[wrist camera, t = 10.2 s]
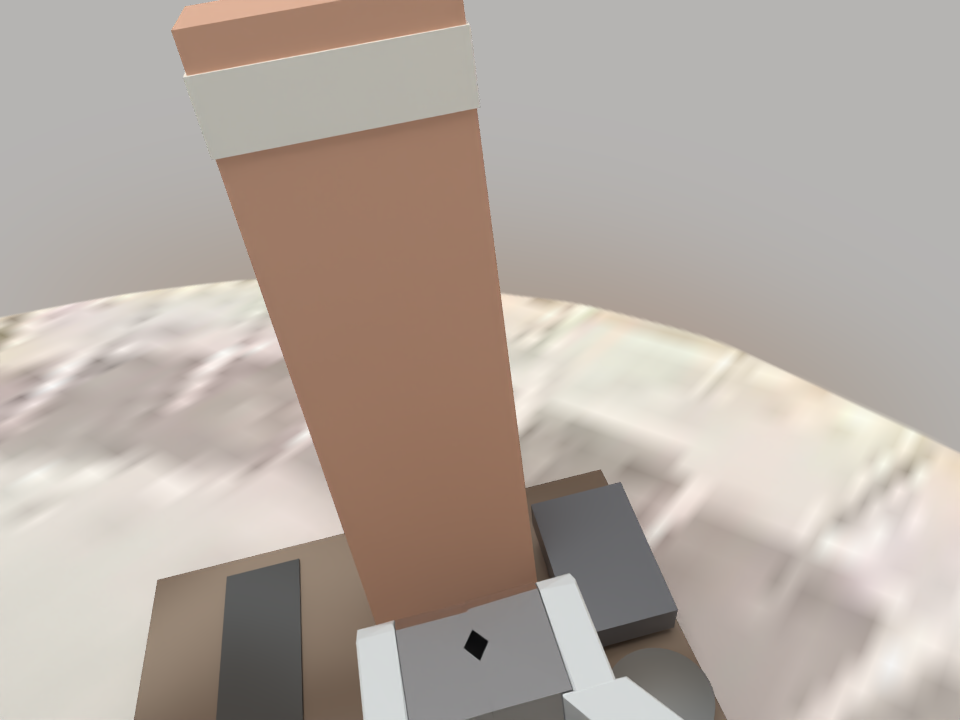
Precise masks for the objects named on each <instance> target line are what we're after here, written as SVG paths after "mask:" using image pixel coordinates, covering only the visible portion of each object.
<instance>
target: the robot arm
mask: <svg viewBox="0 0 960 720" xmlns="http://www.w3.org/2000/svg"><path fill="white" fill-rule="evenodd" d="M356 647H357V658H358V668H359V679H360V690H361V700H362V711H363V720H684V719H682V718H681V717H680V716H678V715H677V714H676V713H674V712H673V711H672V710H670V709H669V708H668V707H666V706H665V705H664V704H662V703H661V702H660V701H658V700H657V699H656V698H654V697H653V696H652V695H650V694H649V693H648V692H647V691H645V690H644V689H643V688H641V687H640V686H639V685H637V684H636V683H635V682H633V681H632V680H631V679H629V678H628V677H627V676H626V677H621V678H617V679H615V676H614V674H613V671H612V669H611V666H610V664H609V661H608V659H607V656H606V654H605V651H604V649H603V647H602V644H601V642H600V639H599V637H598V634H597V632H596V629H595V627H594V624H593V622H592V619H591V617H590V614H589V612H588V609H587V607H586V604H585V602H584V600H583V597H582V595H581V592H580V590H579V587H578V585H577V582H576V580H575V578H574V577H573V576H572V575H571V574H570V573H568V574H564V575H561V576H557V577H554V578H550V579H547V580H543V581H540V582H536V583H535V584H534V582H532V583H528V584H525V585H521V586H518V587H514V588H511V589H507V590H504V591H500V592H497V593H493V594H490V595H486V596H483V597H479V598H476V599H472V600H469V601H465V603H463V604H459V605H455V606H451V607H447V608H443V609H439V610H434V611H430V612H426V613H422V614H418V615H414V616H410V617H406V618H402V619H398V620H395V621H394V620H393V621H389V622H386V623H382V624H378V625H374V626H371V627H367V628H363V629H359V630H357V639H356Z"/></svg>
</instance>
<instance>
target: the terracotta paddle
mask: <svg viewBox="0 0 960 720" xmlns="http://www.w3.org/2000/svg"><path fill="white" fill-rule="evenodd" d="M171 31H172V34H173V37H174V40H175V43H176V46H177V49H178V52H179V54H180V57H181V60H182V63H183V66H184V69H185V74H184V76H183V79H184V82H185V85H186V88H187V91H188V94H189V96H190V99H191V102H192V105H193V108H194V111H195V113H196V116H197V119H198V122H199V125H200V128H201V131H202V134H203V137H204V139H205V142H206V145H207V148H208V151H209V154H210V157H211V160H216V162H217V165H218V167H219V170H220V173H221V176H222V179H223V182H224V185H225V188H226V191H227V193H228V197H229V200H230V202H231V205H232V208H233V211H234V214H235V217H236V220H237V223H238V226H239V229H240V231H241V234H242V237H243V240H244V243H245V246H246V248H247V252H248V255H249V257H250V260H251V263H252V266H253V269H254V272H255V275H256V278H257V281H258V284H259V287H260V289H261V292H262V295H263V298H264V301H265V304H266V307H267V310H268V313H269V316H270V318H271V321H272V324H273V327H274V330H275V333H276V336H277V339H278V342H279V345H280V347H281V350H282V353H283V356H284V359H285V362H286V365H287V368H288V371H289V374H290V376H291V379H292V382H293V385H294V388H295V391H296V394H297V397H298V400H299V403H300V405H301V408H302V411H303V414H304V417H305V420H306V423H307V426H308V429H309V432H310V434H311V437H312V440H313V443H314V446H315V449H316V452H317V455H318V458H319V461H320V463H321V466H322V469H323V472H324V475H325V478H326V481H327V484H328V487H329V490H330V493H331V495H332V498H333V501H334V504H335V507H336V510H337V513H338V516H339V519H340V522H341V524H342V527H343V530H344V533H345V536H346V539H347V542H348V545H349V548H350V551H351V553H352V556H353V559H354V562H355V565H356V568H357V571H358V574H359V577H360V580H361V582H362V585H363V588H364V591H365V594H366V597H367V600H368V603H369V606H370V609H371V611H372V614H373V617H374V620H375V623H376V625H378V624H382V623H386V622H389V621H393V620H394V621H395V620H398V619H402V618H406V617H410V616H414V615H418V614H422V613H426V612H430V611H434V610H439V609H443V608H447V607H451V606H455V605H459V604H463V603H465V601H469V600H472V599H476V598H479V597H483V596H486V595H490V594H493V593H497V592H500V591H504V590H507V589H511V588H514V587H518V586H521V585H525V584H528V583H532V582H534V584H535V583H536V582H537V576H536V568H535V560H534V552H533V544H532V537H531V529H530V521H529V513H528V505H527V497H526V490H525V482H524V474H523V466H522V458H521V450H520V443H519V435H518V427H517V419H516V411H515V403H514V396H513V388H512V380H511V372H510V364H509V356H508V349H507V341H506V333H505V325H504V317H503V310H502V302H501V294H500V286H499V279H498V271H497V263H496V255H495V247H494V239H493V231H492V224H491V216H490V209H489V200H488V192H487V185H486V176H485V169H484V161H483V153H482V145H481V137H480V129H479V122H478V114H477V108H480V100H479V92H478V84H477V76H476V68H475V60H474V52H473V43H472V35H471V28H470V24H469V23H468V22H467V21H466V20H465V12H464V4H463V0H219V1H213V2H208V3H202V4H196V5H191V6H185V7H184V9H183V11H182V13H181V14H180V16H179V18H178V20H177V21H176V23H175V25H174V26H173V28H172V30H171Z"/></svg>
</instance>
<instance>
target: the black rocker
mask: <svg viewBox="0 0 960 720" xmlns="http://www.w3.org/2000/svg"><path fill="white" fill-rule="evenodd" d="M531 513H532V525H533V528H534V531H535V534H536V537H537V540H538V543H539V546H540V549H541V552H542V555H543V558H544V561H545V564H546V567H547V570H548V573H549V576H550V578H554V577H557V576H561V575H564V574H568V573H570V574H571V575H572V576H573V577H574V578H575V580H576V582H577V585H578V587H579V590H580V592H581V595H582V597H583V600H584V602H585V604H586V607H587V609H588V612H589V614H590V617H591V619H592V622H593V624H594V627H595V629H596V632H597V634H598V637H599V639H600V642H601V644H602V647H604V646H608V645H611V644H615V643H619V642H622V641H626V640H630V639H633V638H637V637H641V636H644V635H648V634H652V633H655V632H659V631H663V630H666V629H670V628H674V625H675V620H676V616H677V611H678V609H677V607H676V605H675V603H674V600H673V598H672V596H671V594H670V591H669V589H668V587H667V585H666V582H665V580H664V578H663V576H662V573H661V571H660V569H659V567H658V565H657V562H656V560H655V558H654V556H653V553H652V551H651V549H650V547H649V544H648V542H647V540H646V538H645V535H644V533H643V531H642V529H641V527H640V524H639V522H638V520H637V518H636V515H635V513H634V511H633V509H632V506H631V504H630V502H629V500H628V498H627V495H626V493H625V491H624V489H623V486H622V484H621V482H619V483H615V484H611V485H607V486H603V487H599V488H595V489H591V490H587V491H583V492H579V493H575V494H571V495H567V496H563V497H559V498H555V499H551V500H548V501H544V502H540V503H536V504H532V505H531Z"/></svg>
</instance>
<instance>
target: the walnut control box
mask: <svg viewBox="0 0 960 720" xmlns="http://www.w3.org/2000/svg"><path fill="white" fill-rule="evenodd" d="M607 485H608V483H607V481H606V479H605V477H604V475H603V473H602V471H601V470H597V471H593V472H589V473H585V474H581V475H577V476H573V477H569V478H565V479H561V480H557V481H553V482H549V483H545V484H541V485H537V486H533V487H529V488H525V490H526V497H527V505H528V513H529V521H530V529H531V537H532V544H533V552H534V560H535V568H536V576H537V582H540V581H543V580H547V579H550V576H549V573H548V570H547V567H546V564H545V561H544V558H543V555H542V552H541V549H540V546H539V543H538V540H537V537H536V534H535V531H534V528H533V525H532V513H531V505H532V504H536V503H540V502H544V501H548V500H551V499H555V498H559V497H563V496H567V495H571V494H575V493H579V492H583V491H587V490H591V489H595V488H599V487H603V486H607ZM374 625H376V623H375V620H374V617H373V614H372V611H371V609H370V606H369V603H368V600H367V597H366V594H365V591H364V588H363V585H362V582H361V580H360V577H359V574H358V571H357V568H356V565H355V562H354V559H353V556H352V553H351V551H350V548H349V545H348V542H347V539H346V536H345V533H344V534H340V535H336V536H332V537H328V538H324V539H320V540H316V541H312V542H308V543H304V544H300V545H296V546H292V547H288V548H284V549H280V550H276V551H272V552H268V553H264V554H260V555H256V556H252V557H248V558H244V559H240V560H236V561H232V562H228V563H224V564H220V565H216V566H212V567H208V568H204V569H200V570H196V571H192V572H188V573H184V574H180V575H176V576H172V577H168V578H164V579H160V580H157V586H156V592H155V598H154V604H153V610H152V616H151V621H150V627H149V633H148V639H147V645H146V651H145V657H144V663H143V669H142V675H141V681H140V687H139V693H138V699H137V705H136V711H135V717H134V720H363V711H362V700H361V690H360V679H359V668H358V658H357V647H356V639H357V630H359V629H363V628H367V627H371V626H374ZM603 649H604V651H605V654H606V656H607V659H608V661H609V664H610V666H611V669H612V671H613V674H614V676H615V679H617V678H621V677H626V676H627V677H628V678H629V679H631V680H632V681H633V682H635V683H636V684H637V685H639V686H640V687H641V688H643V689H644V690H645V691H647V692H648V693H649V694H650V695H652V696H653V697H654V698H656V699H657V700H658V701H660V702H661V703H662V704H664V705H665V706H666V707H668V708H669V709H670V710H672V711H673V712H674V713H676V714H677V715H678V716H680V717H681V718H682V719H684V720H727V719H726V717H725V715H724V713H723V711H722V709H721V707H720V705H719V703H718V701H717V699H716V697H715V695H714V692H713V688H712V686H711V684H710V681H709V680H708V678H707V676H706V675H705V673H704V672H703V671H702V669H701V667H700V665H699V663H698V661H697V659H696V657H695V655H694V653H693V651H692V649H691V648H690V646H689V644H688V642H687V640H686V638H685V636H684V634H683V632H682V630H681V628H680V626H679V624H678V622H677V620H675V625H674V628H670V629H666V630H663V631H659V632H655V633H652V634H648V635H644V636H641V637H637V638H633V639H630V640H626V641H622V642H619V643H615V644H611V645H608V646H604V647H603Z"/></svg>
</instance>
